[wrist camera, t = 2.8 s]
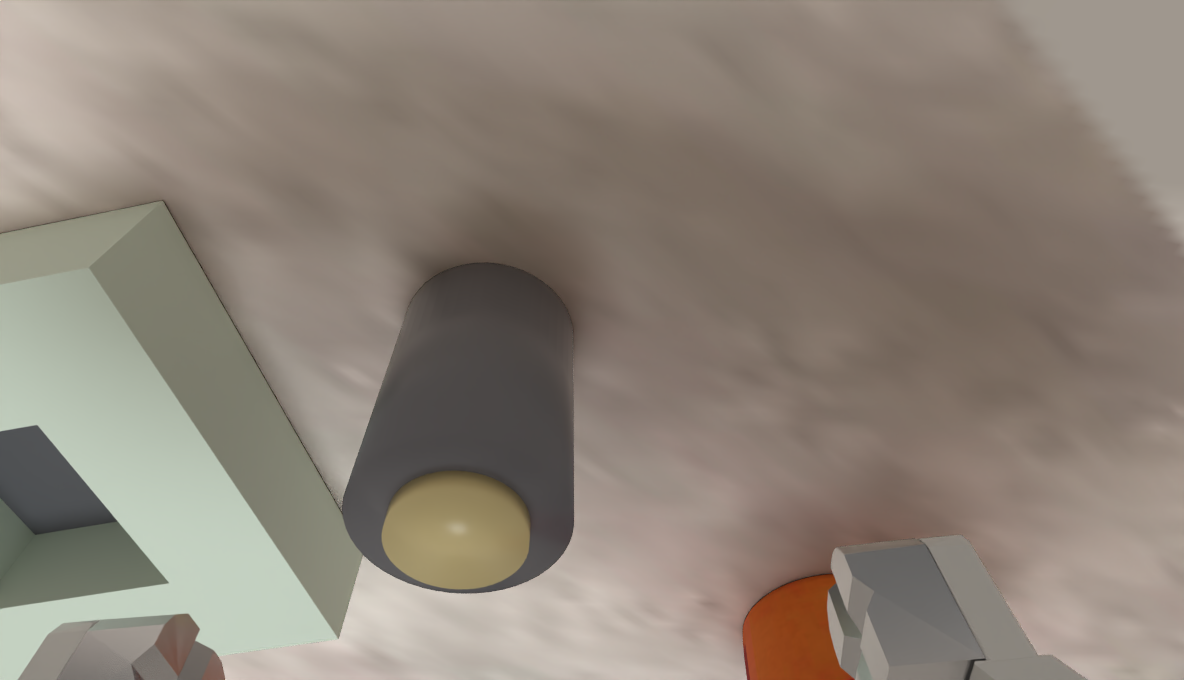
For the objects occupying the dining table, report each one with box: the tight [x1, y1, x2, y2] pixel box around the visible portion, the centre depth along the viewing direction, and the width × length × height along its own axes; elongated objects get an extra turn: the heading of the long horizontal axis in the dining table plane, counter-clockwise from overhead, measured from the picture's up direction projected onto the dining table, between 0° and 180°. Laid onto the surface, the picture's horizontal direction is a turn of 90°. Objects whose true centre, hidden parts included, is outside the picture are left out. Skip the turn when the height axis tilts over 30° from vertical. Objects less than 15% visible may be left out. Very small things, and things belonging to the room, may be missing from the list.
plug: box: [342, 263, 574, 593], centre depth 16 cm, size 4×4×6 cm
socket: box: [0, 201, 363, 680], centre depth 19 cm, size 12×12×3 cm
